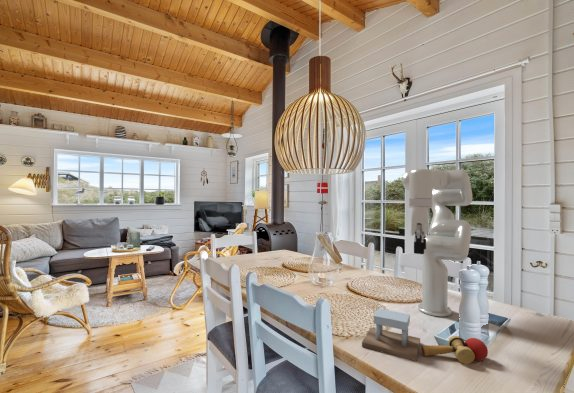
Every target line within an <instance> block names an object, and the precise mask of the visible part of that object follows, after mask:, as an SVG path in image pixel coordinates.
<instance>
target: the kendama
mask: <svg viewBox="0 0 574 393" xmlns="http://www.w3.org/2000/svg"><path fill="white" fill-rule="evenodd" d="M420 346H421V347H420V348H421V353H422V355H423V356H424V357H429V356H436V355H444V354H451V353H455V358H456V359H457V361H458V362H460V363H461V364H466V365H469V364H472V363H473V362H474V361H483V360H485V359H487V357H488V354H489V351H488V347H487V345H486V344H485V342H484V341H482V340H481V339H479V338H476V337H470V338H467V339H466V340H464V339H463V338H462V337H461V336H458V335H453V336H450V338H449V339H448V345H436V344H435V345H429V344H428V345H426V344H421V345H420Z"/></svg>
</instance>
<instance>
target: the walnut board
mask: <svg viewBox="0 0 574 393" xmlns="http://www.w3.org/2000/svg"><path fill="white" fill-rule="evenodd" d="M420 344H421V337H420V338H419V337H416V336H413V335H408V341H407V346H406V347H403V346H402V333H398V332H394V331H389V330H386V329H385V330H384V329H382V335H380V340H376V327H371V326H370V327H369V330H368V331H367V333H366V335H365V336H364V338H363V340H362V342H361V347H362V348H365V349H369V350H373V351H377V352H381V353H384V354H387V355H388V354H389V355H392V356H396V357H401V358H403V359H408V360H411V361H415V362H417V361H418V356H419V350H420V348H421V347H420V346H421V345H420Z"/></svg>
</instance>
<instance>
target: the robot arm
mask: <svg viewBox="0 0 574 393" xmlns="http://www.w3.org/2000/svg"><path fill="white" fill-rule="evenodd" d="M401 184H402V186H403V188H404V189H405V190H407V191H409V192H408V193H409V194H408V195H409V196H408V197H409V199H408V200H409V201H408V202H409V204H408V205H409V206H408V208H411V219H410V235H411V236H414V242H413V254H417V255H419V254H420V255H421V261H422V262H421V264H422V266H421V268H422V271H421V272H422V275H421V276H422V278H421V280H422V281H421V302H420V303H419V304H418V305H417V308H418V310H419V311H420V312H422V313H423V314H426V315H429V316H433V317H444V318H445V317H450V316H452V313H453V312H452V311H453V310H452V309H451V308H450V307H448V301H449V300H448V296H449V295H448V293H449V292H448V291H449V290H448V289H449V287H448V286H449V284H448V283H449V282H448V280H449V278H448V277H449V276H448V275H449V273H448V272H449V271H448V267H447V266H446V264H445V263H444V262H443V260H446V261H453V262H464V261H466V259H468V255H469V251H470V246H471V239H472V227H471V224H470V223H469V222H468V221H466V220H463V219H455V215H454V213H453V212H452V210H450V209H449V208H448V207H449V206H457V207H458V206H459V207H465V206H469V205H471V204H472V201H473V191H472V186H471V180H470V177H469V174H468V173H467V171H465V170H464V169H448V170H446V169H445V170H441V169H429V168H416V169H412V170H408V171H406V172H404V174H403V175H402V180H401ZM447 206H448V207H447ZM429 209H431V211H432V213H433V214H432V218H431V221H430V225H429ZM428 233H429V235H427V234H428Z"/></svg>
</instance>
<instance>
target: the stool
mask: <svg viewBox="0 0 574 393" xmlns="http://www.w3.org/2000/svg"><path fill="white" fill-rule="evenodd" d="M410 320H411V314H409V313H404V312H398V311H394V310H389V309H384V308H377V309H376V312H375V313H374V315H373V324H375V328H376V340H380V335H382V330H383V326H384V327H388V328H393V329H398V330H401V334H402V346H403V347H406V346H407V341H408V336H409V326H410V323H411V321H410Z"/></svg>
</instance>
